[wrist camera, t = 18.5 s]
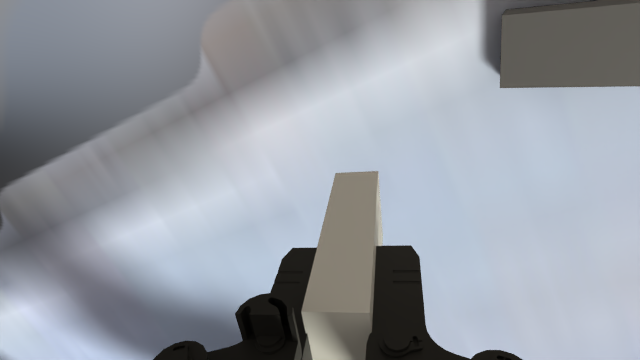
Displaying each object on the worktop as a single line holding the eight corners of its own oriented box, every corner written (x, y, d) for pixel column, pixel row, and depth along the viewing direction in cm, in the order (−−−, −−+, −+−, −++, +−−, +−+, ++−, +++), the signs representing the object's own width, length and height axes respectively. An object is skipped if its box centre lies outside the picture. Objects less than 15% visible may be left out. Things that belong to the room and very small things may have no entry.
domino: (500, 88, 30) (677, 85, 25) (501, 15, 28) (698, -3, 23) (504, 79, 32) (672, 75, 27) (506, 9, 30) (691, -9, 25)
